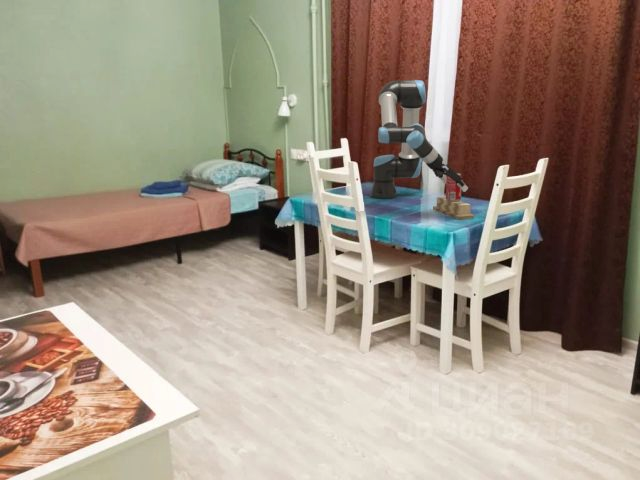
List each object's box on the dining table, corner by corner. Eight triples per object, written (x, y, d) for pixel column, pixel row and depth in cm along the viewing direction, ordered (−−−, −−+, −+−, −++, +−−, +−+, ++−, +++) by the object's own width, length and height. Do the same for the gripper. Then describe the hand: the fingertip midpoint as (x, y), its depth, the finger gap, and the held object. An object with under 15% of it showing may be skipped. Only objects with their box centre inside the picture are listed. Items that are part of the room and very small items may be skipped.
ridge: (432, 209, 262) (433, 196, 260) (446, 208, 264) (447, 195, 262) (459, 219, 240) (459, 206, 238) (473, 218, 242) (474, 204, 240)
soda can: (461, 202, 246) (462, 175, 242) (445, 202, 247) (447, 175, 244) (460, 199, 253) (461, 172, 249) (445, 199, 254) (446, 172, 250)
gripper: (413, 161, 252) (439, 189, 260) (440, 167, 229) (467, 198, 237) (423, 149, 252) (449, 178, 260) (451, 155, 229) (478, 185, 238)
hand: (458, 187), depth 249 cm, fingers open, 13 cm apart
